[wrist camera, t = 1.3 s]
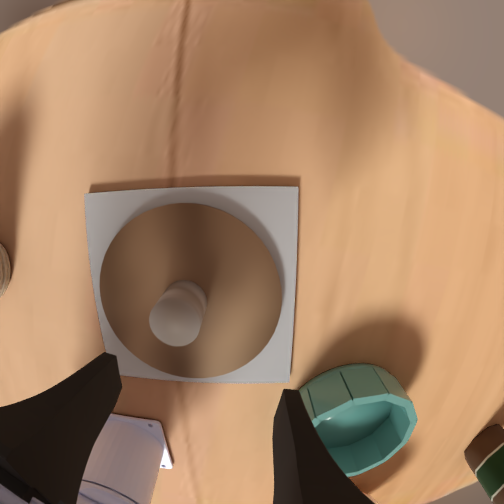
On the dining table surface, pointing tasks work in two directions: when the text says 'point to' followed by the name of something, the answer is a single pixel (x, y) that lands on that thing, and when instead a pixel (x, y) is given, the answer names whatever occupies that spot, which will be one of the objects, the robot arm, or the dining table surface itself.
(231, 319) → the lid
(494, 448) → the beer bottle
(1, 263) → the carving
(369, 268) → the dining table surface
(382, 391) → the bowl
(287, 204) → the mat
